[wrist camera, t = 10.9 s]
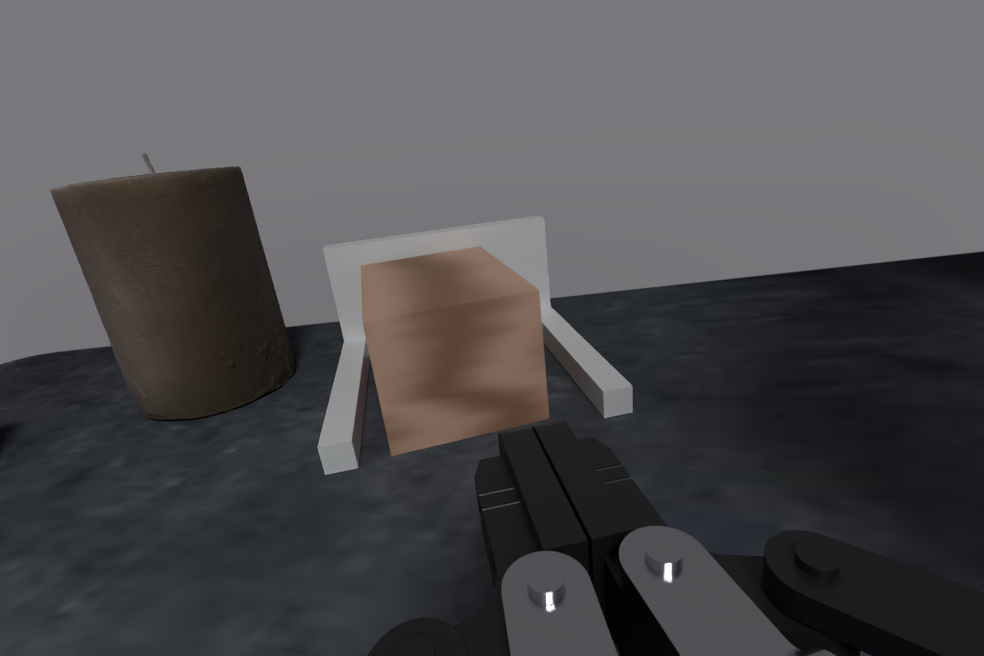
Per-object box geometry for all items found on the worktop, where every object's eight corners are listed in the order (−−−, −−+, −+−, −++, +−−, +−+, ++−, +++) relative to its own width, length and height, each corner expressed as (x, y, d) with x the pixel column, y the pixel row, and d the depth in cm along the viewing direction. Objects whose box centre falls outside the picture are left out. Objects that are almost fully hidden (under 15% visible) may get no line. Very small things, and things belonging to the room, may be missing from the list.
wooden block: (491, 341, 36) (480, 246, 34) (549, 421, 25) (539, 289, 23) (381, 363, 35) (360, 265, 32) (392, 459, 24) (362, 322, 21)
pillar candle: (302, 392, 31) (234, 138, 26) (120, 441, 28) (1, 160, 23) (291, 346, 40) (238, 148, 35) (151, 380, 36) (69, 164, 31)
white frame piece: (546, 319, 39) (538, 215, 36) (632, 412, 25) (630, 255, 22) (350, 352, 37) (325, 245, 34) (325, 475, 23) (279, 310, 20)
